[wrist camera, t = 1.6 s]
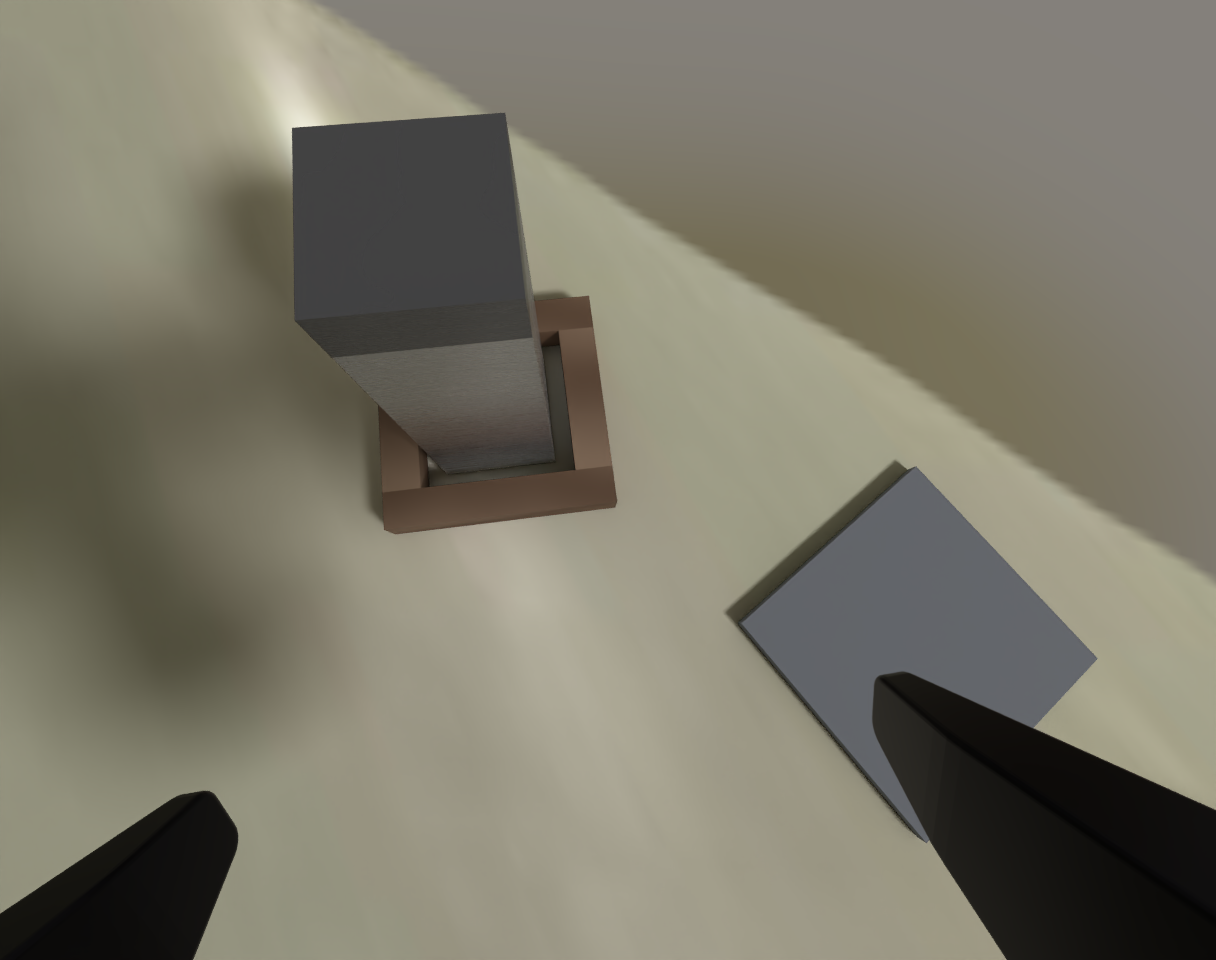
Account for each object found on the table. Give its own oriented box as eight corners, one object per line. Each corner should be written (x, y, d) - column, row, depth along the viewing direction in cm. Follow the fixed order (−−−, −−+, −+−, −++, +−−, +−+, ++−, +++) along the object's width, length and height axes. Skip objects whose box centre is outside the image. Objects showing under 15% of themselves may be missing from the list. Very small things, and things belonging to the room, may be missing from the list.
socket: (615, 507, 21) (616, 501, 20) (395, 534, 20) (384, 529, 19) (588, 311, 23) (588, 295, 22) (385, 331, 22) (374, 316, 21)
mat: (917, 837, 19) (926, 843, 18) (737, 622, 20) (741, 623, 20) (1085, 657, 21) (1097, 658, 20) (908, 469, 22) (915, 466, 21)
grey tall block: (555, 461, 21) (525, 298, 10) (447, 474, 21) (294, 320, 10) (544, 363, 22) (505, 112, 11) (440, 374, 22) (291, 127, 11)
